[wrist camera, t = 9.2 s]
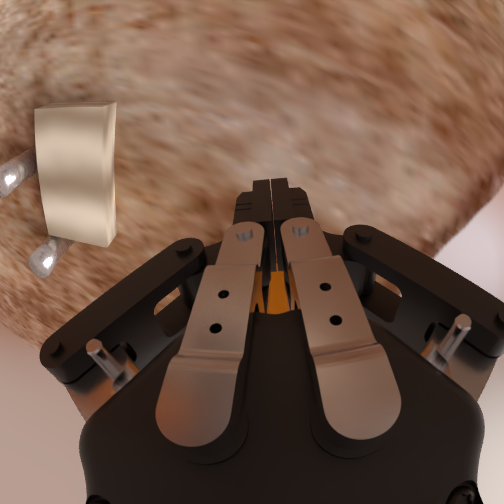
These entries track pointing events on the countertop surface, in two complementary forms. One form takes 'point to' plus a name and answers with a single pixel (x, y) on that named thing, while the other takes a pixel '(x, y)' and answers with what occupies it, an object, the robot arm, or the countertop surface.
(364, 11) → the countertop surface
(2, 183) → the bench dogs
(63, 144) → the cream curved panel
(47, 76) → the countertop surface
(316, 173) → the countertop surface
